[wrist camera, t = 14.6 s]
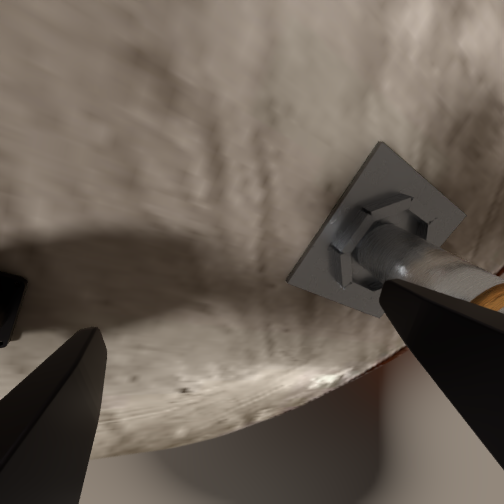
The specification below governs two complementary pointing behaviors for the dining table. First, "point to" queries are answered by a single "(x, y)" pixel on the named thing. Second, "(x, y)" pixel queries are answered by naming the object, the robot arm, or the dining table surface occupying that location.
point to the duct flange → (364, 221)
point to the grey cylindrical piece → (428, 267)
